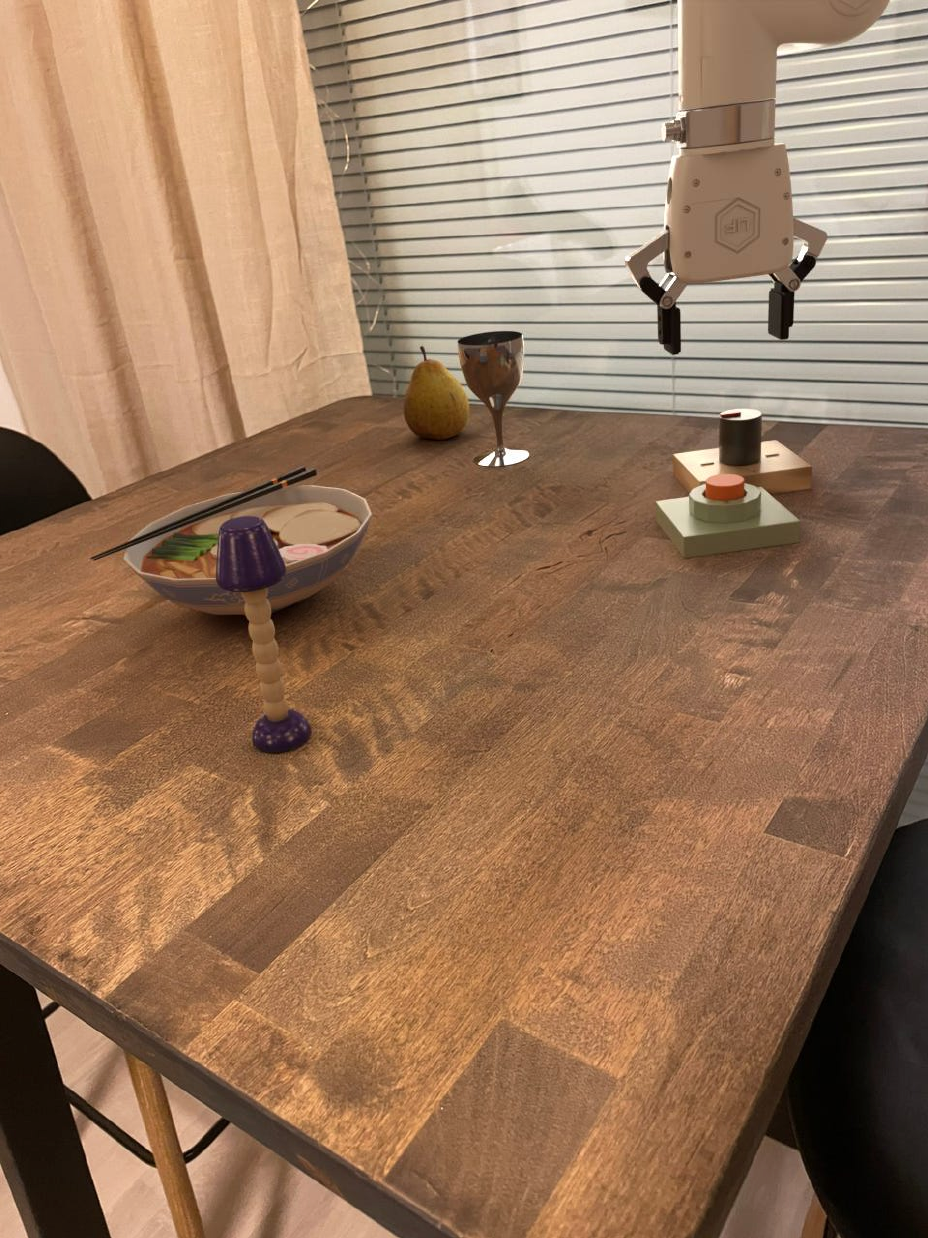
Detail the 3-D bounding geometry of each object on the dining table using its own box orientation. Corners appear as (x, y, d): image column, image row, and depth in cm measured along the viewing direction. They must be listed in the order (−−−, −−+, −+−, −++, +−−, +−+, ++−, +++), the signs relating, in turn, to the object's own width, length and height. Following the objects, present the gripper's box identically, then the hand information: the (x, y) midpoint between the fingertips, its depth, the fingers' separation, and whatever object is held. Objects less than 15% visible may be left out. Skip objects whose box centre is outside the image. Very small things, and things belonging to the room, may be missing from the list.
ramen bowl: (221, 691, 78) (197, 599, 74) (89, 621, 93) (63, 542, 89) (441, 576, 93) (430, 495, 89) (297, 532, 108) (282, 461, 104)
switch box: (761, 506, 99) (762, 469, 98) (799, 542, 91) (801, 502, 89) (655, 521, 99) (654, 484, 97) (683, 558, 90) (683, 518, 88)
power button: (736, 488, 95) (737, 471, 94) (749, 500, 92) (750, 483, 91) (700, 493, 95) (700, 476, 94) (712, 505, 92) (712, 488, 91)
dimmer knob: (752, 450, 108) (753, 403, 105) (766, 462, 104) (768, 413, 101) (713, 456, 107) (713, 409, 105) (726, 468, 103) (727, 419, 101)
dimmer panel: (775, 460, 111) (776, 438, 110) (811, 488, 102) (812, 464, 101) (672, 474, 111) (672, 452, 110) (699, 504, 102) (699, 480, 101)
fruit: (464, 443, 131) (453, 353, 126) (400, 445, 134) (387, 357, 128) (478, 424, 139) (468, 339, 133) (417, 427, 141) (406, 343, 136)
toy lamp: (297, 711, 73) (252, 504, 66) (332, 733, 70) (288, 518, 63) (242, 739, 71) (188, 527, 63) (275, 763, 68) (223, 542, 60)
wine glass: (529, 465, 120) (519, 342, 113) (466, 469, 121) (452, 347, 114) (535, 445, 127) (525, 328, 120) (475, 449, 128) (462, 333, 121)
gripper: (633, 144, 75) (640, 366, 83) (851, 116, 76) (838, 338, 83) (611, 144, 82) (619, 349, 90) (811, 118, 82) (802, 324, 90)
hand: (725, 344), depth 86 cm, fingers open, 9 cm apart
